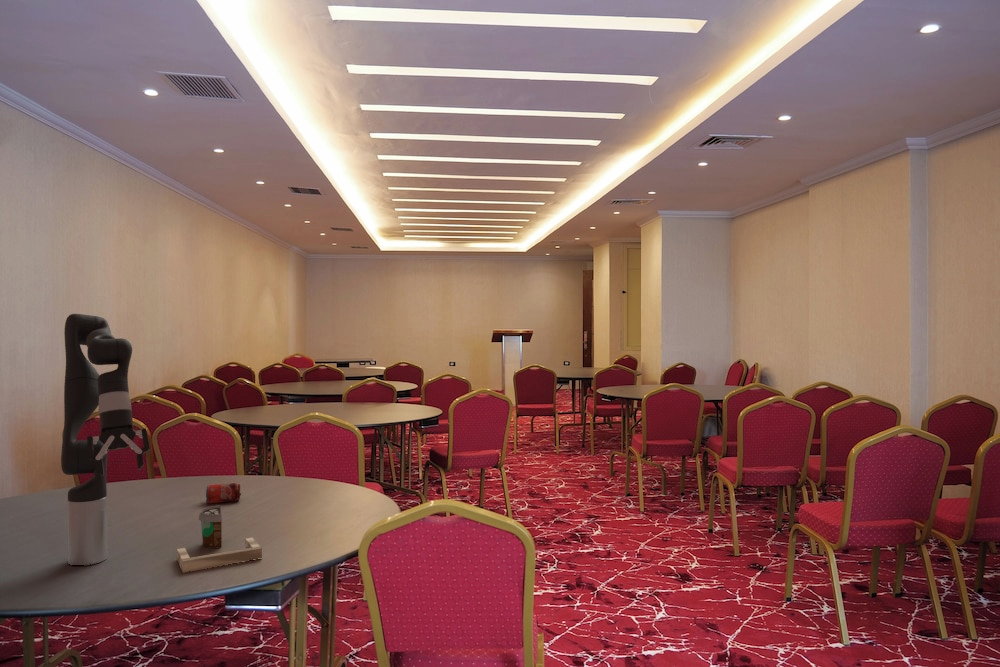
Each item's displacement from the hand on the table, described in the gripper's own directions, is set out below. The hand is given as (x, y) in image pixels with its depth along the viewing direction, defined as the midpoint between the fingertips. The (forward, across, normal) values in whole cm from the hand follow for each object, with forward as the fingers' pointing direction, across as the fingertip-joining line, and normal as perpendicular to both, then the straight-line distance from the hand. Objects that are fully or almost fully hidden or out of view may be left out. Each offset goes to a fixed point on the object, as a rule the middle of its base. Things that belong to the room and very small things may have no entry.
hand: (121, 472), depth 179 cm
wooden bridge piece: (+27, -21, -9) cm, 35 cm away
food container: (+23, -20, -24) cm, 38 cm away
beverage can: (+8, -28, -74) cm, 80 cm away
